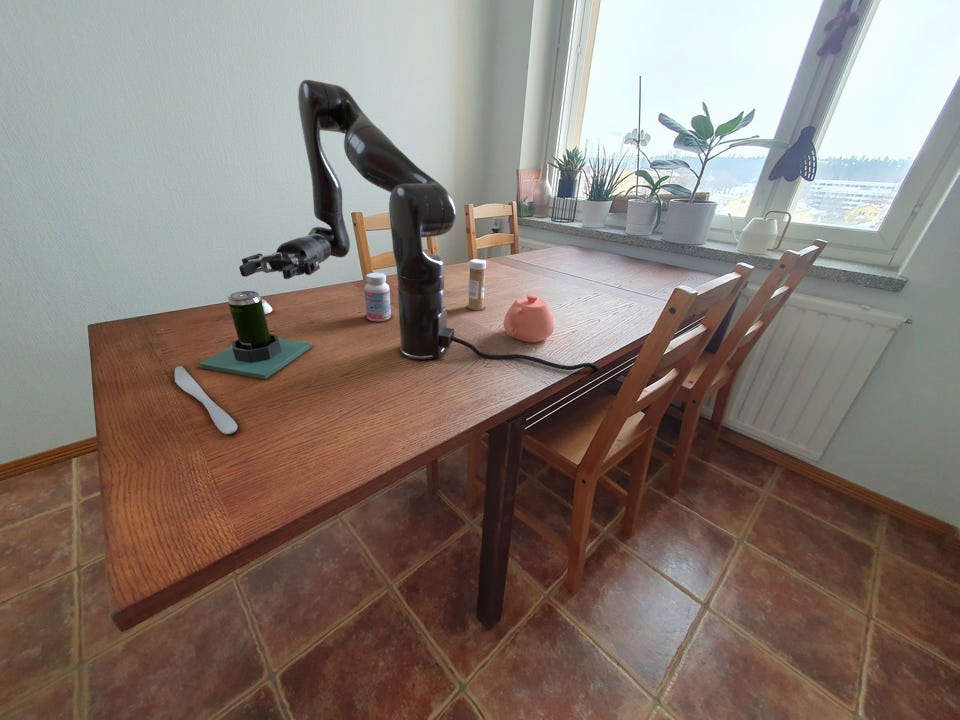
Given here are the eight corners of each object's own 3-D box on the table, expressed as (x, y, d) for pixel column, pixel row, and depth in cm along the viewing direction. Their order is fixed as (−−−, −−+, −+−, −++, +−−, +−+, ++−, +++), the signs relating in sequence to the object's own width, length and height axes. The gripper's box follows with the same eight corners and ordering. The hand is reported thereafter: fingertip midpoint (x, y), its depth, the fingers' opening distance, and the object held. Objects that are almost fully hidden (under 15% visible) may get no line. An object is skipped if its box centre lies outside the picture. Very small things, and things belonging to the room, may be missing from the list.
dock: (311, 347, 80) (309, 332, 79) (265, 379, 68) (261, 363, 67) (254, 338, 83) (251, 323, 81) (200, 368, 71) (194, 351, 69)
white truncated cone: (246, 315, 93) (266, 316, 93) (243, 304, 92) (263, 305, 92) (257, 308, 98) (276, 309, 98) (254, 297, 96) (273, 299, 96)
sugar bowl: (561, 336, 92) (568, 297, 87) (528, 353, 83) (533, 310, 78) (522, 321, 99) (526, 284, 95) (487, 336, 90) (490, 295, 85)
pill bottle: (362, 319, 95) (357, 276, 90) (376, 311, 100) (373, 270, 95) (382, 323, 93) (378, 279, 88) (395, 316, 98) (393, 273, 93)
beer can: (265, 359, 73) (250, 300, 67) (237, 357, 73) (219, 299, 67) (278, 346, 78) (265, 291, 72) (252, 345, 77) (237, 289, 72)
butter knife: (217, 437, 53) (239, 426, 55) (166, 370, 69) (185, 363, 71) (218, 440, 54) (241, 429, 56) (167, 372, 69) (186, 366, 71)
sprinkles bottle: (486, 309, 106) (489, 261, 100) (473, 311, 104) (475, 263, 98) (477, 304, 110) (480, 258, 103) (464, 306, 107) (466, 259, 101)
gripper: (268, 237, 87) (222, 251, 72) (329, 240, 86) (295, 255, 72) (275, 269, 90) (233, 289, 76) (333, 272, 90) (302, 293, 75)
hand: (263, 272), depth 74 cm, fingers open, 8 cm apart
